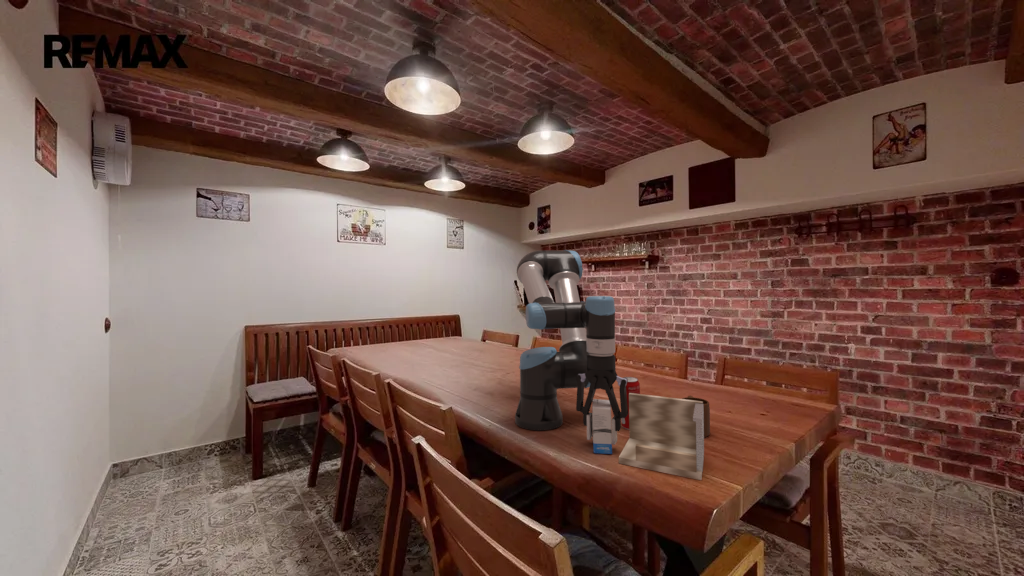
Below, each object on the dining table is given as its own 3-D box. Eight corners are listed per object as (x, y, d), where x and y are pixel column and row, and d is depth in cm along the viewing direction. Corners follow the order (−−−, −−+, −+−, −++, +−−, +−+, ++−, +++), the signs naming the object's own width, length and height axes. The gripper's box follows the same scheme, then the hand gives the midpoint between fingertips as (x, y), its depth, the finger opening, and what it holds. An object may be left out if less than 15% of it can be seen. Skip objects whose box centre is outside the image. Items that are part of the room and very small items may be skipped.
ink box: (612, 455, 97) (612, 409, 96) (592, 453, 98) (592, 407, 98) (610, 441, 105) (610, 399, 105) (592, 440, 106) (592, 398, 106)
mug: (676, 422, 119) (676, 392, 119) (702, 424, 117) (702, 393, 117) (683, 437, 108) (683, 403, 108) (713, 439, 106) (712, 405, 106)
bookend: (693, 470, 85) (692, 417, 85) (696, 449, 96) (695, 402, 96) (702, 471, 84) (701, 418, 84) (704, 451, 95) (703, 403, 95)
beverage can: (642, 425, 117) (641, 376, 117) (639, 432, 111) (639, 381, 111) (622, 422, 119) (621, 375, 119) (619, 429, 113) (618, 379, 113)
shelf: (618, 463, 92) (618, 407, 92) (630, 441, 105) (629, 392, 105) (701, 480, 84) (700, 419, 83) (703, 454, 96) (702, 401, 96)
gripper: (562, 353, 102) (563, 439, 102) (634, 359, 93) (636, 452, 93) (571, 349, 109) (572, 429, 109) (640, 354, 100) (641, 441, 100)
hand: (602, 440), depth 101 cm, fingers closed on ink box, 6 cm apart
